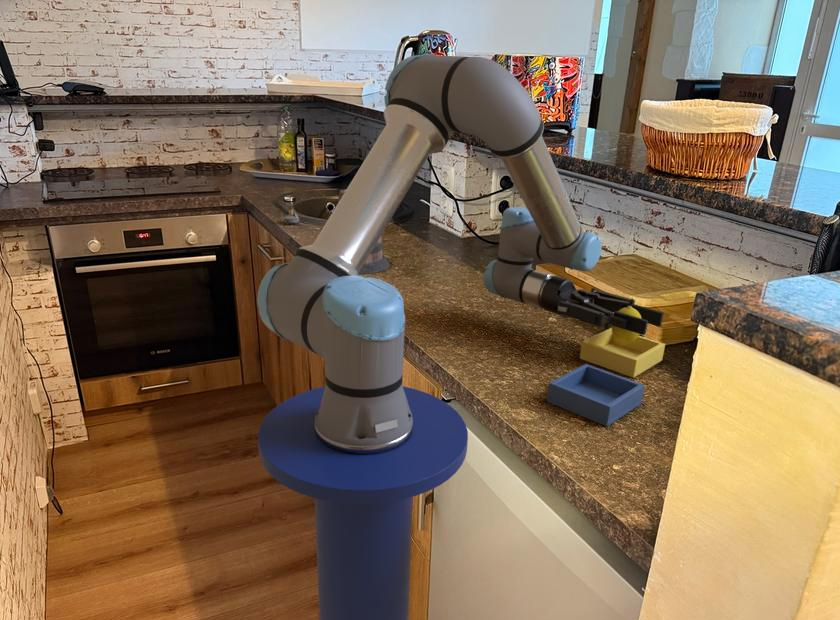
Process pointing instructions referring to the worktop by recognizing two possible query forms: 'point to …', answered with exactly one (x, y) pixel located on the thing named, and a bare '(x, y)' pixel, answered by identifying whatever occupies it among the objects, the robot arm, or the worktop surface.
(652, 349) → the yellow bin
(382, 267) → the tankard
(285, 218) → the figurine
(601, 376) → the blue bin
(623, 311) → the lemon
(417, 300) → the worktop surface
